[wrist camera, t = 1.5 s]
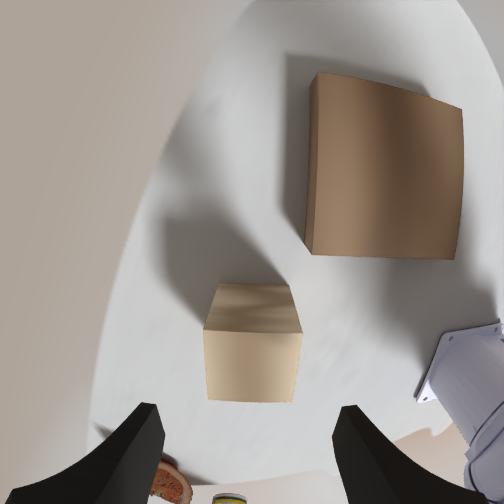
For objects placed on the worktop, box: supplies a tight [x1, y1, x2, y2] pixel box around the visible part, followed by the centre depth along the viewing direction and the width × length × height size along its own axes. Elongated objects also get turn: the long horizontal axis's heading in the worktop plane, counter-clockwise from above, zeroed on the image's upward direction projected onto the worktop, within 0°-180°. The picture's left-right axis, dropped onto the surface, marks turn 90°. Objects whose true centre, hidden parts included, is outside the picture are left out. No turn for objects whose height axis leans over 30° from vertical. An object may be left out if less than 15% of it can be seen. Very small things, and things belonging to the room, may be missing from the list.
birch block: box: [203, 283, 303, 402], centre depth 16 cm, size 4×4×6 cm
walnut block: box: [304, 72, 464, 260], centre depth 15 cm, size 10×10×3 cm
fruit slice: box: [149, 460, 193, 504], centre depth 22 cm, size 8×7×5 cm
